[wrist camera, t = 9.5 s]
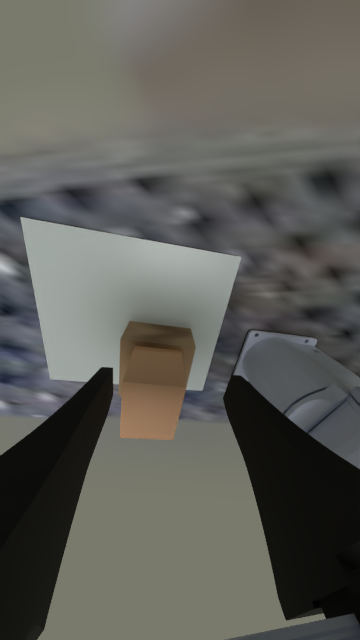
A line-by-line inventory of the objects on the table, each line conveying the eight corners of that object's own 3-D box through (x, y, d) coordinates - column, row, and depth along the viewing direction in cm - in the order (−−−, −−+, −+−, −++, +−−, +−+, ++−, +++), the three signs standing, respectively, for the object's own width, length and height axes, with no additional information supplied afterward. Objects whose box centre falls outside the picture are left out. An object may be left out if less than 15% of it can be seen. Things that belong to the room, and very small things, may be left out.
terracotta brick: (181, 350, 16) (186, 387, 12) (172, 396, 18) (173, 439, 14) (134, 345, 15) (122, 381, 11) (131, 393, 18) (119, 437, 14)
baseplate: (238, 256, 17) (241, 257, 17) (201, 386, 24) (202, 390, 24) (27, 218, 15) (20, 217, 14) (54, 374, 22) (50, 379, 21)
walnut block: (190, 328, 20) (195, 347, 16) (180, 374, 22) (183, 400, 19) (129, 321, 19) (120, 339, 15) (127, 370, 21) (118, 395, 18)
